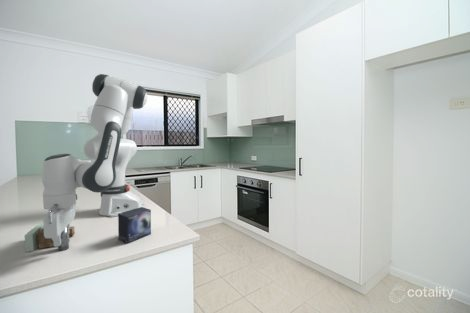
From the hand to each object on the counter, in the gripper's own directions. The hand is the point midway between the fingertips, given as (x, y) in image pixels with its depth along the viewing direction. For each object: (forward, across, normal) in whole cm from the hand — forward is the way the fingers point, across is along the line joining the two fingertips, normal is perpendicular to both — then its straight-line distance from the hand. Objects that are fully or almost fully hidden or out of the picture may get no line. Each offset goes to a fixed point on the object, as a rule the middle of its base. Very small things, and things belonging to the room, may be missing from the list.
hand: (62, 239), depth 77 cm
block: (+3, +8, +3) cm, 9 cm away
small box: (+3, +1, -23) cm, 24 cm away
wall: (+3, +8, +10) cm, 13 cm away
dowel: (+3, 0, 0) cm, 3 cm away
